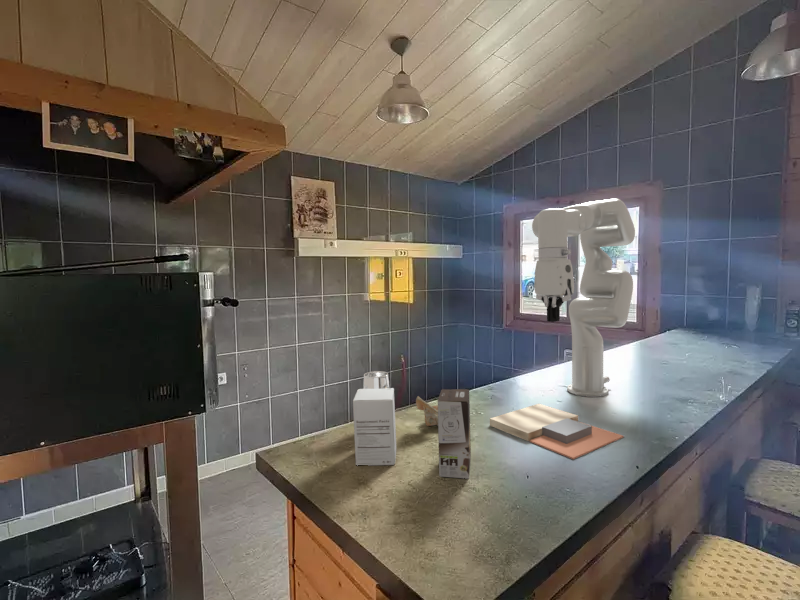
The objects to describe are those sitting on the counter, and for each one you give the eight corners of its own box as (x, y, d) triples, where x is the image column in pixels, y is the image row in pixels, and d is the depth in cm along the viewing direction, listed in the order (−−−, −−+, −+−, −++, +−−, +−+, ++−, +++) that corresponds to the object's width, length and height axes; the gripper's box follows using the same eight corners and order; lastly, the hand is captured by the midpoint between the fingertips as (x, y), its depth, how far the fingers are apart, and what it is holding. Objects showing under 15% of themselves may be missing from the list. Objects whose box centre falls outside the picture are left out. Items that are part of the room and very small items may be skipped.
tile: (567, 425, 111) (567, 418, 111) (591, 433, 105) (591, 426, 105) (542, 434, 106) (542, 427, 106) (566, 444, 100) (566, 435, 100)
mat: (579, 423, 114) (579, 421, 114) (623, 437, 104) (623, 435, 104) (529, 441, 103) (529, 440, 103) (573, 459, 93) (573, 457, 93)
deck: (538, 410, 125) (538, 403, 125) (578, 422, 114) (578, 415, 114) (489, 425, 114) (489, 418, 114) (528, 441, 103) (528, 433, 103)
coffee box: (470, 479, 86) (468, 401, 85) (438, 477, 87) (436, 400, 86) (471, 459, 95) (470, 388, 93) (443, 457, 96) (441, 387, 95)
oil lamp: (406, 430, 113) (405, 393, 112) (452, 408, 129) (451, 376, 128) (432, 438, 107) (431, 399, 107) (477, 414, 123) (476, 381, 122)
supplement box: (359, 449, 102) (357, 388, 101) (396, 448, 102) (394, 387, 101) (354, 466, 93) (351, 399, 92) (395, 465, 93) (392, 399, 92)
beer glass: (379, 421, 120) (377, 369, 119) (396, 427, 115) (394, 373, 114) (359, 428, 115) (357, 374, 114) (376, 435, 110) (374, 378, 109)
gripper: (585, 253, 112) (585, 322, 113) (539, 255, 124) (540, 317, 126) (568, 253, 108) (568, 325, 109) (522, 256, 120) (522, 320, 122)
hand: (553, 321), depth 117 cm, fingers closed
